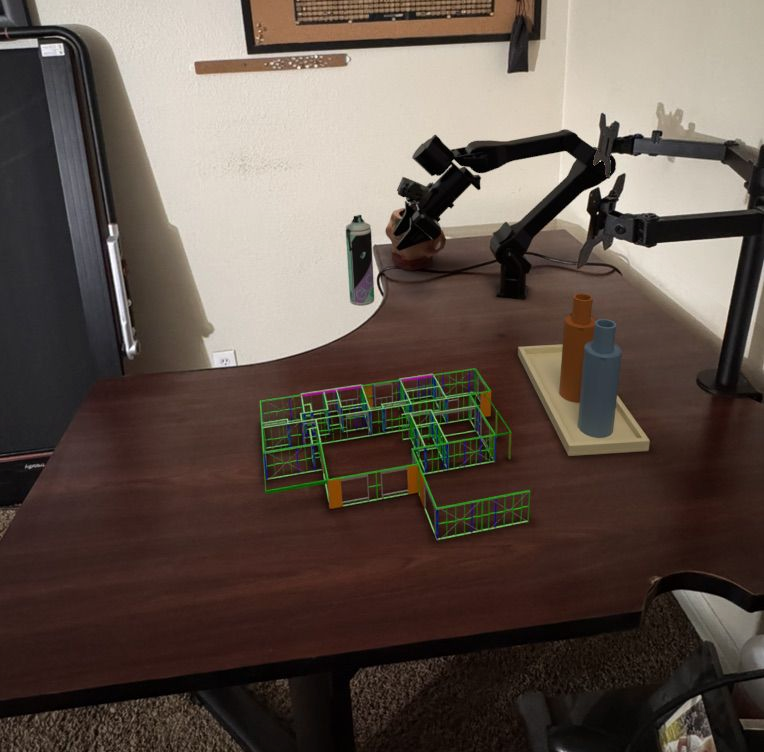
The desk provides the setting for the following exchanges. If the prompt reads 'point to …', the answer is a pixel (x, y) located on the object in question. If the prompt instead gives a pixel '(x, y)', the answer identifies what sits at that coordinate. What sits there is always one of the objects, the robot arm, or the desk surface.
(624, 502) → the desk surface
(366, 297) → the spray can
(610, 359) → the slate bottle
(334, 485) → the house model
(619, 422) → the tray
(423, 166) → the robot arm
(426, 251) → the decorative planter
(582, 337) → the amber bottle
